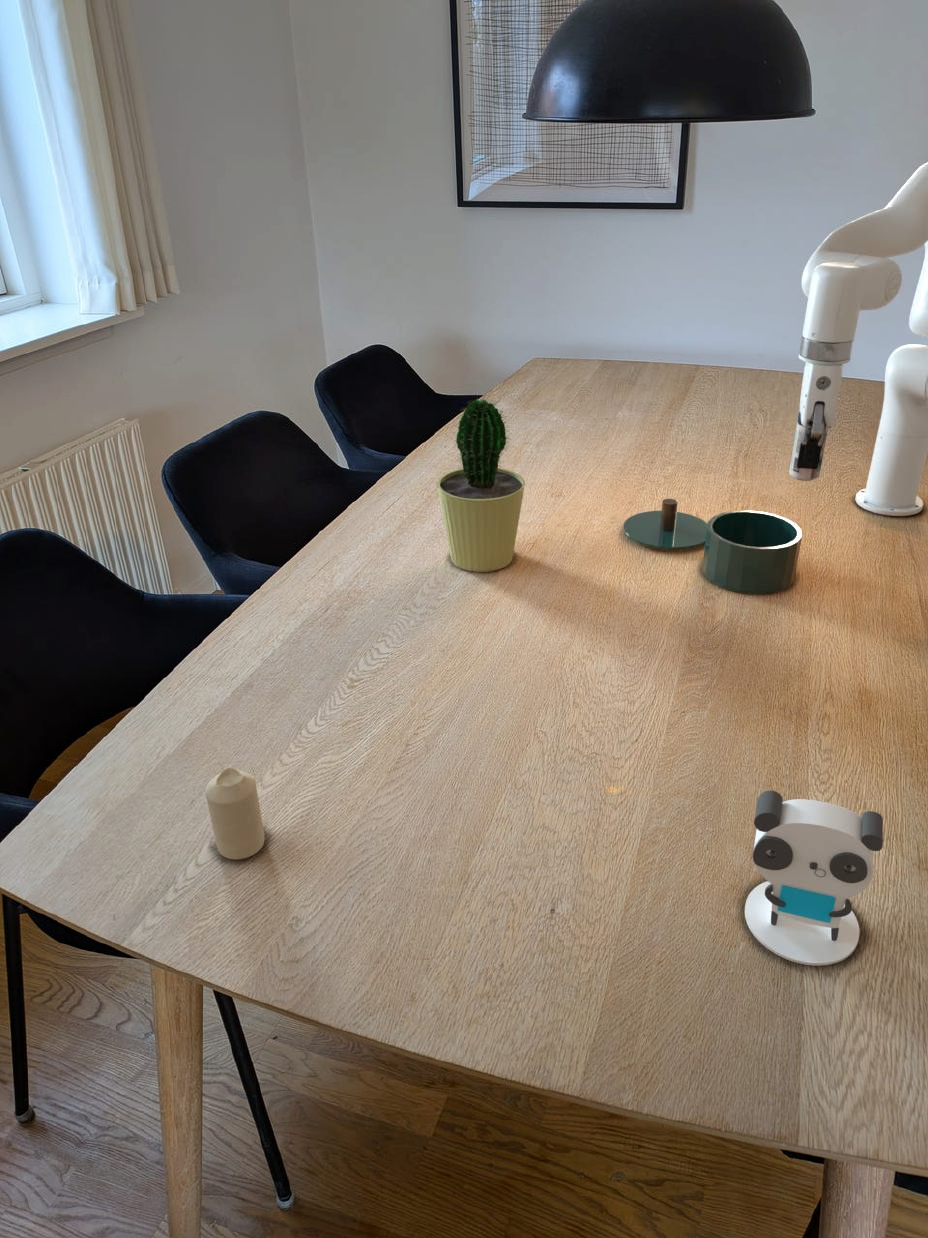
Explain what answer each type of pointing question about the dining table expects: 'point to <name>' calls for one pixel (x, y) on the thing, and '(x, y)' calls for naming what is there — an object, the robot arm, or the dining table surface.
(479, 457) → the potted cactus
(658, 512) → the lid
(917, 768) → the dining table surface
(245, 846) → the candle
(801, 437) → the beer can
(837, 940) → the panda figurine
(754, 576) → the pot
